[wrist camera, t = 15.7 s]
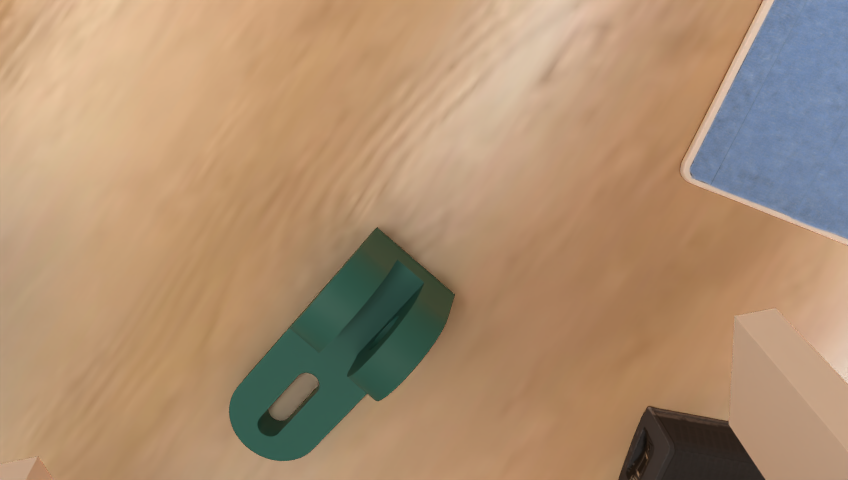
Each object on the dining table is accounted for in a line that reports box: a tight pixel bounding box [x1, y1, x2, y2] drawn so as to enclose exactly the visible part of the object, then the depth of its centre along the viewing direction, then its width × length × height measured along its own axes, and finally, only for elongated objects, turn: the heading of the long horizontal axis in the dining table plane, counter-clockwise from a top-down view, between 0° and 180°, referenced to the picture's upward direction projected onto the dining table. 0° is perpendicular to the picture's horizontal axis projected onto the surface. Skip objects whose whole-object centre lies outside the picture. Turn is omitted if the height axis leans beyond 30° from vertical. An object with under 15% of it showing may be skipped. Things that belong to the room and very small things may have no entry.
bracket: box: [229, 228, 455, 461], centre depth 44 cm, size 18×7×8 cm, turn 140°
